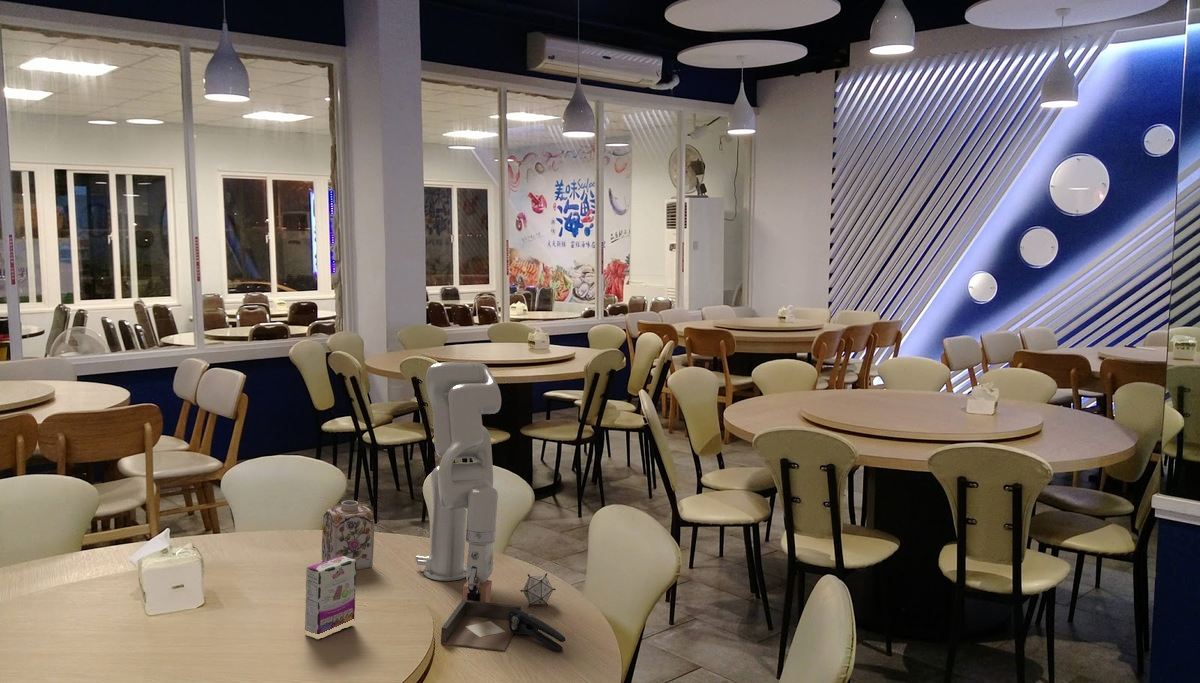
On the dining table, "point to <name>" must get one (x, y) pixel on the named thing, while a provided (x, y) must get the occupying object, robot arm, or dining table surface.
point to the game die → (537, 590)
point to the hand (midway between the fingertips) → (476, 601)
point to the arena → (478, 626)
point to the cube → (480, 591)
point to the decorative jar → (349, 533)
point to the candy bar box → (330, 594)
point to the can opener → (534, 628)
